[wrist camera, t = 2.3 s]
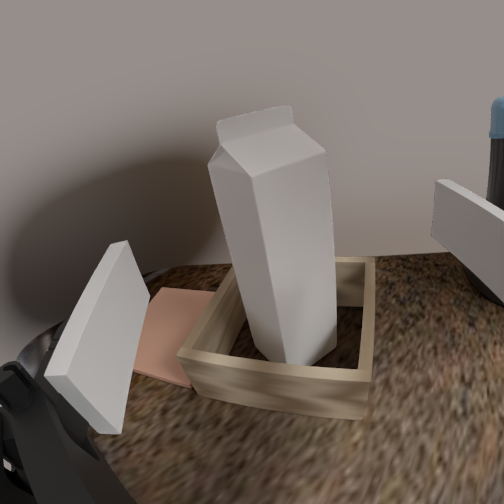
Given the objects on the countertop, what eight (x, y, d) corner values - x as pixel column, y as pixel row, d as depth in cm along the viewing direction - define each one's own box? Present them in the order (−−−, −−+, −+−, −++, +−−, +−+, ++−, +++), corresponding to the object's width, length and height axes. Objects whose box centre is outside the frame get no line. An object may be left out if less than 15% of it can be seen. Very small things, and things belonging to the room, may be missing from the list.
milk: (337, 347, 28) (323, 103, 17) (288, 382, 26) (240, 120, 15) (298, 318, 33) (267, 105, 22) (252, 346, 31) (196, 122, 19)
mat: (240, 297, 38) (239, 293, 38) (191, 388, 27) (189, 385, 27) (163, 290, 42) (162, 287, 42) (107, 362, 31) (105, 359, 31)
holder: (372, 301, 32) (374, 257, 29) (362, 420, 21) (370, 381, 18) (249, 295, 38) (239, 254, 35) (198, 395, 26) (175, 355, 23)
